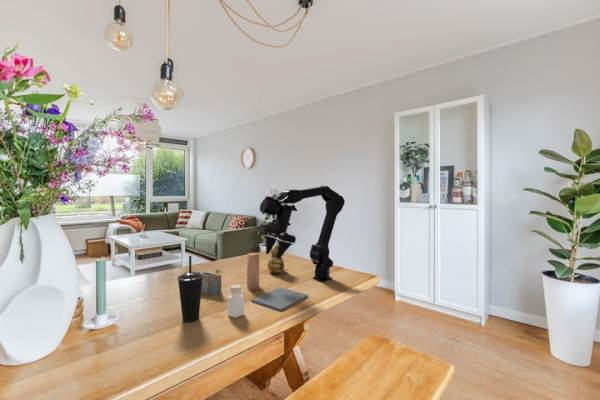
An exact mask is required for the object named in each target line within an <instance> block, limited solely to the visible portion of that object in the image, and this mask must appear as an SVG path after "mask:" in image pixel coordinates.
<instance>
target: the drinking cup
mask: <svg viewBox="0 0 600 400" xmlns="http://www.w3.org/2000/svg"><path fill="white" fill-rule="evenodd" d="M198 272H199V271H192V256H191V255H189V256H188V271H187V272H183V273H182V274H180V275H179V276H177V277H176V278H177V281H178V290H179V299H180V308H181V309H180V310H181V319H182V322H184V323H193V322H196V321H197V320H198V321H199V318H200V309H201V298H202V292H201V288H202V278H203V273H201V272H200V273H198Z"/></svg>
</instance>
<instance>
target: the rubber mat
mask: <svg viewBox="0 0 600 400" xmlns="http://www.w3.org/2000/svg"><path fill="white" fill-rule="evenodd" d="M308 297H309V294H307V293H303V292H299V291H295V290H292V289H288V288H285V287H281V286H279V287H277V288H274V289H272V290H269V291H267V292H266V293H263V294H260V295H258V296H256V297H254V298H251V302H252V303H255V304H258V305H260V306H264V307H265V308H266V307H268V308H270V309H273V310H276V311H279V312H282V311H284V310H286V309H288V308H290V307H292V306H294V305H296V304H297V303H299V302H301V301H303V300H304V299H306V298H308Z"/></svg>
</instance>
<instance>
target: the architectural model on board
mask: <svg viewBox="0 0 600 400" xmlns="http://www.w3.org/2000/svg"><path fill="white" fill-rule="evenodd" d="M197 272H198V273H201V271H197ZM221 272H222V269H218V268H216V270H215V273H212V272H205V271H203V272H202V274H203V278H202V288H201V293H203V294H209V295H214V296H218V295H220V294H222V274H220V273H221Z"/></svg>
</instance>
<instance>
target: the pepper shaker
mask: <svg viewBox="0 0 600 400" xmlns="http://www.w3.org/2000/svg"><path fill="white" fill-rule="evenodd" d="M241 290H242V286H241V285H240V284H233V285H231V286H230V295H229V296H228V297H227V316H229V317H231V318H235V319H236V318H239V317H241V316H243V315H244V314H245V296H244V295H242V294H241V293H242V291H241Z"/></svg>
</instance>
